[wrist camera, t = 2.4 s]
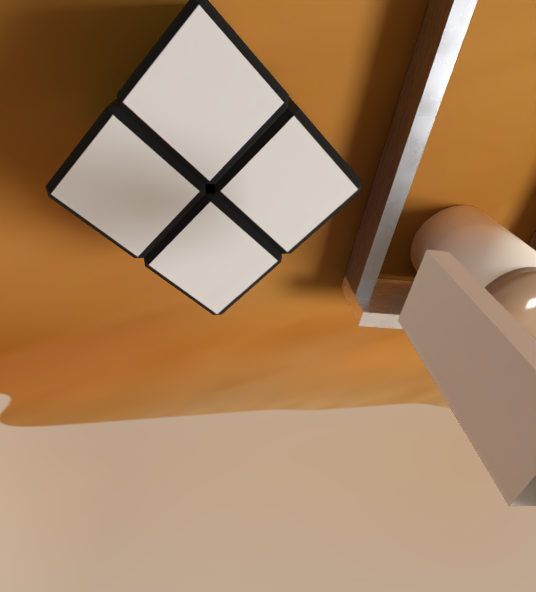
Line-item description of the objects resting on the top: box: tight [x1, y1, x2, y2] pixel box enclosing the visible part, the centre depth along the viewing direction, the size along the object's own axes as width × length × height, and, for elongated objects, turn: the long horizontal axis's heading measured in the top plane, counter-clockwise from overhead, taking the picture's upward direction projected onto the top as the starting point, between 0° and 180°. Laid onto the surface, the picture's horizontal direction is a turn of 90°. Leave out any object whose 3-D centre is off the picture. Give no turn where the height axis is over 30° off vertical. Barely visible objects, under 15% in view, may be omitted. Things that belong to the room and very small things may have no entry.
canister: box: [410, 205, 536, 339], centre depth 28 cm, size 6×6×9 cm
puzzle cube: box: [46, 0, 362, 315], centre depth 22 cm, size 10×10×10 cm
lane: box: [341, 0, 536, 329], centre depth 27 cm, size 15×21×5 cm
